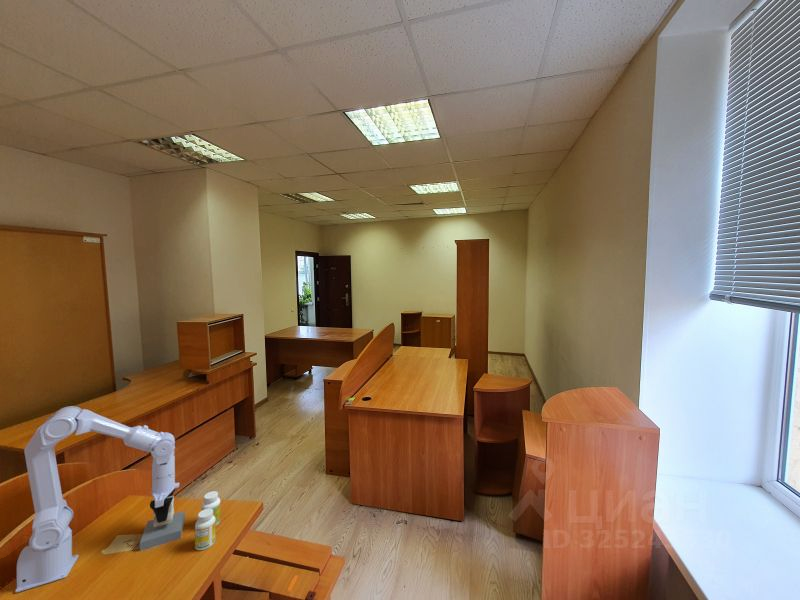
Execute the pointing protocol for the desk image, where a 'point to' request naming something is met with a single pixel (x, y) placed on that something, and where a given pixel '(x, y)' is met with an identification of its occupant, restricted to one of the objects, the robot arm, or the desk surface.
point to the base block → (162, 532)
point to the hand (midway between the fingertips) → (163, 515)
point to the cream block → (169, 517)
